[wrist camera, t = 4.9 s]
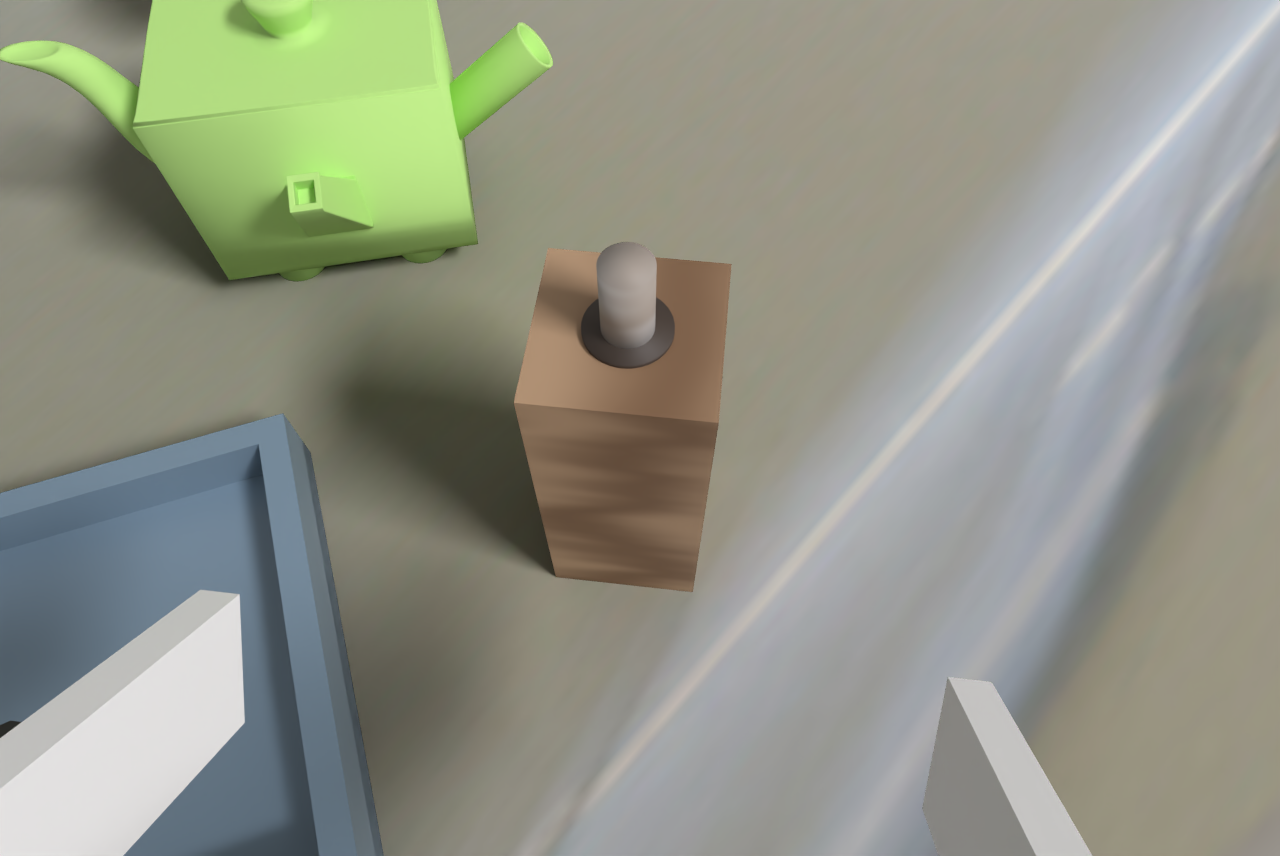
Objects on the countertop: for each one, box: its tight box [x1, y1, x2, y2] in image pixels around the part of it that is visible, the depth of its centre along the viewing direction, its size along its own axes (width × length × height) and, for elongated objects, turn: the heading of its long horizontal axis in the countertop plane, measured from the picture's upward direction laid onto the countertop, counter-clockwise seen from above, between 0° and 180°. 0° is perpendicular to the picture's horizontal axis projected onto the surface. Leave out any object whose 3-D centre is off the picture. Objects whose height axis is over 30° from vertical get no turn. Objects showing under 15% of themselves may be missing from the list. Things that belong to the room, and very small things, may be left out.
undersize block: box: [514, 242, 731, 592], centre depth 26 cm, size 5×5×14 cm
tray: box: [0, 414, 384, 856], centre depth 27 cm, size 16×16×3 cm
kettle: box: [0, 0, 553, 281], centre depth 36 cm, size 15×14×11 cm
